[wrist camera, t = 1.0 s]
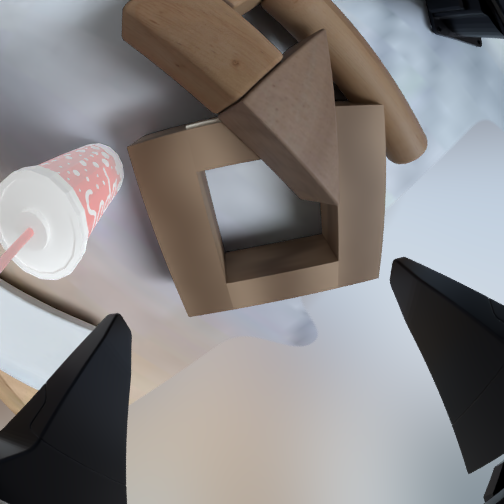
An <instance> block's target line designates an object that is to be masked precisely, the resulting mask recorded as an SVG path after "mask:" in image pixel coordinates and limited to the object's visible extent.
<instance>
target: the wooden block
mask: <svg viewBox="0 0 504 504" xmlns="http://www.w3.org/2000/svg"><path fill="white" fill-rule="evenodd" d="M259 4H261V6H262V8H263V9H264V10H266V11H267V12H268V13H269V14H270V15H271V16H272V17H273V18H274V19H275V20H276V21H278V22H279V23H280V24H281V25H282V26H283V27H284V28H285V29H286V30H287V31H288V32H289V33H290V34H291V35H292V36H293V37H294V38H295V39H296V40H297V41H298V43H297V44H295V45H294V46H292V47H290V48H289V49H288V50H287V51H286V52H284V53H283V54H282V53H281V52H280V51H279V50H278V49H277V48H276V47H275V46H274V45H273V44H272V43H271V42H270V41H269V40H268V39H267V38H266V37H265V36H263V35H262V34H261V33H260V32H259V31H258V30H257V29H256V28H255V27H254V26H253V25H251V24H250V23H249V22H248V21H247V20H246V19H245V18H243V17H242V15H243V14H245V13H246V12H248V11H250V10H251V9H253V8H254V7H256V6H257V5H259ZM122 38H123V40H124V41H125V42H127V43H128V44H130V45H131V46H132V47H134V48H135V49H136V50H137V51H139V52H140V53H141V54H143V55H144V56H145V57H147V58H148V59H149V60H150V61H152V62H153V63H154V64H155V65H157V66H158V67H159V68H160V69H162V70H163V71H164V72H165V73H167V74H168V75H169V76H170V77H171V78H173V79H174V80H175V81H176V82H177V83H179V84H180V85H181V86H182V87H183V88H185V89H186V90H187V91H188V92H189V93H190V94H192V95H193V96H194V97H195V98H196V99H197V100H199V101H200V102H201V103H202V104H203V105H204V106H205V107H207V108H208V109H209V110H210V111H211V112H213V113H215V114H217V113H219V115H218V118H219V120H221V121H222V122H223V123H224V124H225V125H226V126H227V127H228V128H229V129H230V130H231V131H232V132H234V133H235V134H236V135H237V136H238V137H239V138H240V139H241V140H242V141H243V142H244V143H245V144H246V145H247V146H248V147H249V148H250V149H251V150H252V151H253V152H254V153H255V154H257V155H258V156H259V157H260V158H261V159H262V160H263V161H264V162H265V163H266V164H267V165H268V166H269V167H270V168H271V169H272V170H273V171H274V172H275V173H276V174H277V175H278V176H279V177H280V178H281V179H282V181H283V182H284V183H285V184H286V185H287V186H288V187H289V188H290V189H291V190H292V191H293V192H294V193H295V194H296V195H297V196H298V197H299V198H300V199H301V200H308V201H314V202H320V203H326V204H331V205H337V206H338V205H339V203H340V190H339V156H338V137H337V122H336V109H335V98H334V88H333V82H334V83H335V84H336V85H337V87H338V88H339V89H340V90H341V92H342V93H343V94H344V96H345V97H346V98H347V99H348V101H349V102H351V103H362V104H382V105H384V117H385V139H386V156H387V158H388V159H389V160H390V161H392V162H393V163H396V164H406V163H409V162H412V161H414V160H416V159H417V158H419V157H420V156H421V155H422V154H423V153H424V152H425V150H426V148H427V138H426V136H425V134H424V132H423V130H422V128H421V126H420V124H419V122H418V120H417V118H416V116H415V115H414V113H413V111H412V109H411V107H410V106H409V104H408V102H407V101H406V99H405V97H404V95H403V94H402V92H401V91H400V89H399V87H398V86H397V84H396V83H395V81H394V79H393V78H392V76H391V75H390V73H389V72H388V70H387V69H386V67H385V66H384V65H383V63H382V62H381V60H380V59H379V57H378V56H377V55H376V53H375V52H374V51H373V49H372V48H371V47H370V45H369V44H368V43H367V41H366V40H365V39H364V38H363V36H362V35H361V34H360V33H359V31H358V30H357V29H356V28H355V27H354V25H353V24H352V23H351V22H350V21H349V19H348V18H347V17H346V16H345V15H344V14H343V13H342V12H341V10H340V9H339V8H338V7H337V6H336V5H335V4H334V3H333V2H332V1H331V0H130V1H129V2H128V3H127V4H126V5H125V6H124V8H123V12H122Z"/></svg>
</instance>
